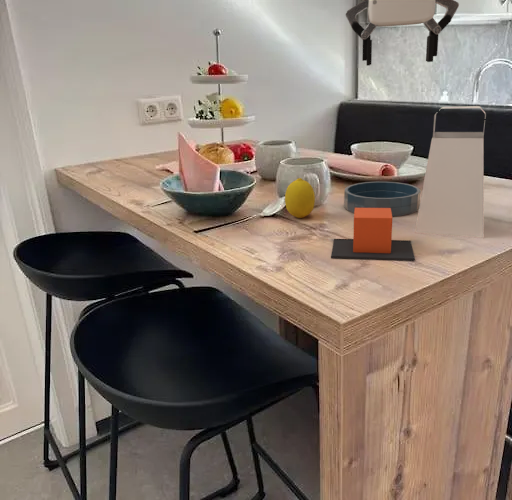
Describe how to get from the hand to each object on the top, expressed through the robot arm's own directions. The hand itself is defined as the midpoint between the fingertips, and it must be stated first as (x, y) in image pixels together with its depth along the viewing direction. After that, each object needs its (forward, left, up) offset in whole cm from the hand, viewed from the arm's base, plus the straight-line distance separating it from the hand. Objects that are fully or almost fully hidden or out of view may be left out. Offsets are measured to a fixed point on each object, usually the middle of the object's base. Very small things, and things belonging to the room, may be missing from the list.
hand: (398, 63), depth 82 cm
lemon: (+17, +1, -27) cm, 32 cm away
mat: (+4, +16, -27) cm, 31 cm away
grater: (-9, +5, -27) cm, 29 cm away
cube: (+4, +16, -27) cm, 31 cm away
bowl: (+2, -7, -27) cm, 28 cm away
